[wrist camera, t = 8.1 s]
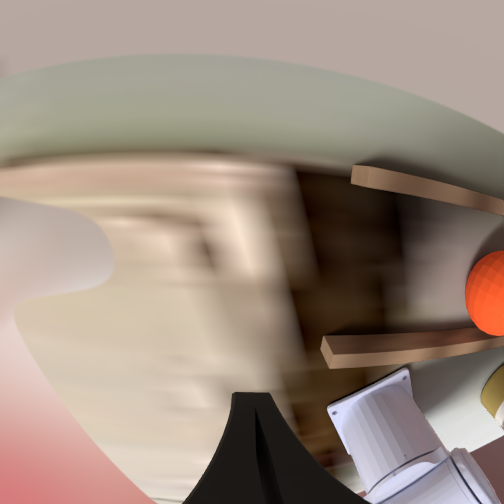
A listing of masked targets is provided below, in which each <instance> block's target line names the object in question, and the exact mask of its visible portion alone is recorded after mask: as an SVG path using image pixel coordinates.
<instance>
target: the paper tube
mask: <svg viewBox="0 0 504 504" xmlns="http://www.w3.org/2000/svg"><path fill="white" fill-rule="evenodd" d="M481 403H482V405H483V406H484V407H485V408H486V409H487V411H488V412H489V413H490V414H491V415H492V416H493V418H494V419H495V420H496V421H497V423H498V424H499V425H500V426H501V427H502V428H503V430H504V365H503V366H501V367H500V368H499V369H498V370H497V371H496V372H495V373H494V374H493V375H492V376H491V377H490V379H489V380H488V382H487V383H486V385H485V387H484V388H483V391H482V394H481Z"/></svg>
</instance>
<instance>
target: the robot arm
mask: <svg viewBox="0 0 504 504" xmlns="http://www.w3.org/2000/svg"><path fill="white" fill-rule="evenodd" d="M327 411H328V413H329V415H330V417H331V419H332V421H333V423H334V425H335V427H336V429H337V431H338V433H339V435H340V438H341V440H342V442H343V444H344V446H345V448H346V450H347V452H348V454H351V455H352V458H353V460H354V463H355V465H356V468H357V470H358V473H359V476H360V478H361V481H362V483H363V486H364V488H365V491H366V493H367V495H366V496H365V497H363V498H362V497H360V496H359V495H357V494H356V493H354V492H353V491H351V490H350V489H349V488H347V487H346V486H345V485H343V484H342V483H341V482H340V481H338V480H337V479H336V478H334V477H333V476H332V475H331V474H330V473H329V472H328V471H327V470H326V469H324V468H323V467H322V466H321V465H320V464H319V463H318V462H317V461H316V459H315V458H314V457H313V456H312V455H311V454H310V453H309V452H308V451H307V449H306V448H305V447H304V446H303V445H302V443H301V442H300V441H299V439H298V438H297V437H296V435H295V434H294V433H293V431H292V430H291V428H290V427H289V425H288V424H287V422H286V421H285V419H284V418H283V416H282V414H281V413H280V411H279V409H278V408H277V406H276V404H275V402H274V400H273V398H272V396H271V394H269V393H255V392H235V393H233V394H232V399H231V410H230V414H229V418H228V421H227V424H226V427H225V430H224V433H223V436H222V438H221V440H220V443H219V445H218V447H217V450H216V452H215V454H214V456H213V458H212V460H211V462H210V463H209V465H208V467H207V469H206V470H205V472H204V474H203V475H202V477H201V479H200V480H199V482H198V483H197V485H196V486H195V488H194V489H193V490H192V492H191V493H190V494H189V496H188V497H187V498H186V500H185V501H184V502H183V503H182V504H501V502H500V501H499V499H498V497H497V496H496V493H495V491H494V489H493V487H492V486H491V484H490V482H489V481H488V479H487V477H486V476H485V474H484V473H483V472H482V470H481V469H480V467H479V466H478V465H477V463H476V462H475V460H474V459H473V457H472V456H471V455H470V454H469V452H468V451H467V450H466V449H465V448H460V449H459V448H454V449H453V450H452V451H451V452H449V451H448V450H447V449H446V448H445V446H444V445H443V443H442V442H441V440H440V439H439V437H438V436H437V434H436V433H435V431H434V430H433V428H432V427H431V425H430V424H429V422H428V421H427V419H426V418H425V416H424V415H423V413H422V412H421V411H420V409H419V408H418V406H417V405H416V403H415V402H414V400H413V394H412V387H411V380H410V374H409V370H408V369H407V368H402V369H400V370H399V371H397V372H395V373H393V374H391V375H389V376H388V377H386V378H384V379H382V380H380V381H378V382H376V383H374V384H372V385H370V386H368V387H366V388H364V389H362V390H360V391H358V392H356V393H354V394H352V395H350V396H348V397H346V398H344V399H341V400H339V401H337V402H335V403H333V404H330V405H329V406H328V407H327ZM334 411H335V412H334Z"/></svg>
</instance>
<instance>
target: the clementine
mask: <svg viewBox="0 0 504 504" xmlns="http://www.w3.org/2000/svg"><path fill="white" fill-rule="evenodd" d="M465 299H466V307H467V310H468V313H469V315H470V318H471V320H472V321H473V322H474V323H475V324H476V325H477V327H478V328H479V329H480V330H482V331H484V332H486V333H487V334H491V335H496V336H502V335H504V250H501V251H495V252H492V253H489V254H488V255H486V256H485V257H483V258H482V259H480V260H479V261H478V262H477V264H476V265H475V266H474V268H473V269H472V271H471V273H470V275H469V277H468V280H467V283H466V289H465Z"/></svg>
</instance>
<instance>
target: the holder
mask: <svg viewBox="0 0 504 504" xmlns="http://www.w3.org/2000/svg"><path fill="white" fill-rule="evenodd" d="M351 184H356V185H360V186H364V187H369V188H375V189H381V190H387V191H392V192H398V193H403V194H409V195H414V196H419V197H424V198H429V199H434V200H438V201H443V202H448V203H452V204H457V205H461V206H465V207H470V208H474V209H478V210H482V211H486V212H490V213H494V214H498V215H501V216H504V200H501V199H498V198H495V197H492V196H489V195H485V194H482V193H479V192H475V191H472V190H468V189H465V188H461V187H457V186H454V185H450V184H446V183H442V182H438V181H434V180H430V179H426V178H422V177H418V176H413V175H409V174H404V173H400V172H395V171H390V170H385V169H380V168H375V167H370V166H359V165H353V169H352V178H351ZM502 346H504V335H502V336H496V335H491V334H487V333H486V332H484V331H482V330H480V329H479V328H478V327H470V328H461V329H451V330H440V331H428V332H414V333H398V334H377V335H343V336H323V341H322V345H321V351H322V353H323V356H324V358H325V360H326V362H327V364H328V366H329V368H330V369H335V368H353V367H367V366H379V365H390V364H399V363H408V362H416V361H424V360H431V359H438V358H445V357H451V356H457V355H463V354H468V353H473V352H479V351H484V350H488V349H493V348H498V347H502Z"/></svg>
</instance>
